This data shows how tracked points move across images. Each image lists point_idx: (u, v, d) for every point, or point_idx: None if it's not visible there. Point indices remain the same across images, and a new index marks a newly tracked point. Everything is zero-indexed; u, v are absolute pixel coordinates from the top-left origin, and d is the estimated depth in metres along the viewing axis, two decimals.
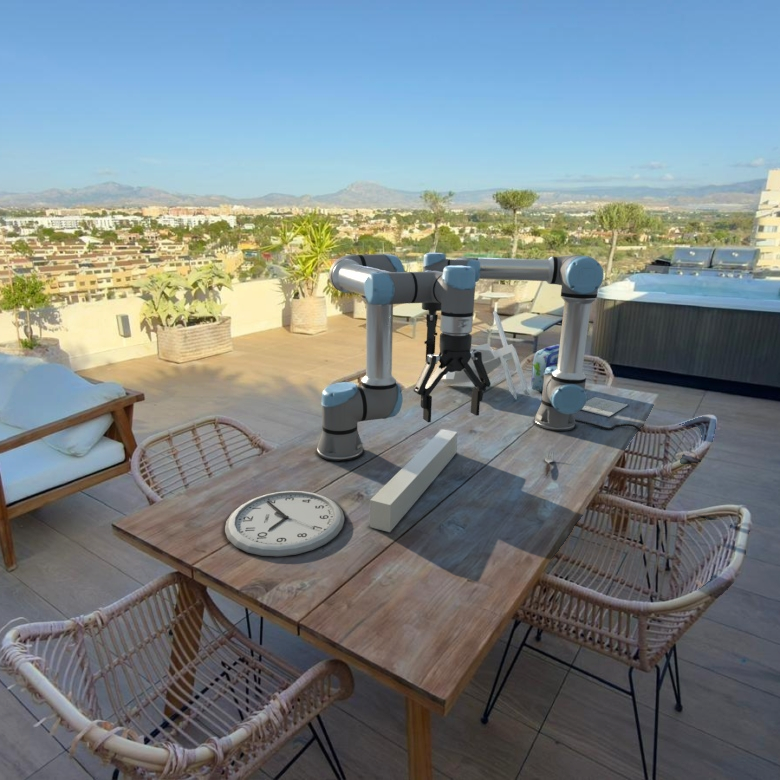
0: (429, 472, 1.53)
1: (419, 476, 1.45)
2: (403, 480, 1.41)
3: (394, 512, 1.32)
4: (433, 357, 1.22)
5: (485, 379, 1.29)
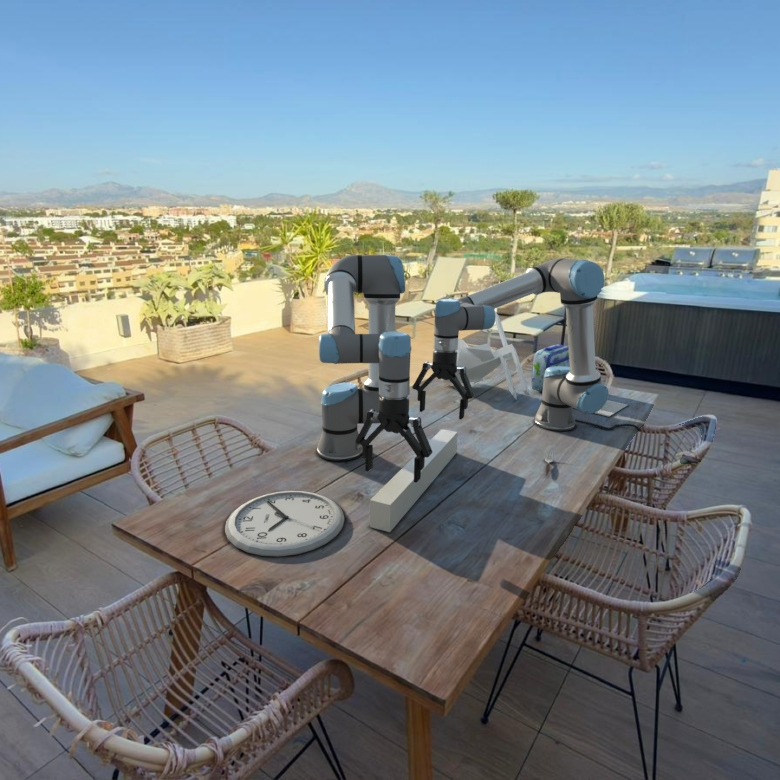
0: (429, 472, 1.53)
1: None
2: (403, 480, 1.41)
3: (394, 512, 1.32)
4: (368, 413, 1.31)
5: (423, 449, 1.27)
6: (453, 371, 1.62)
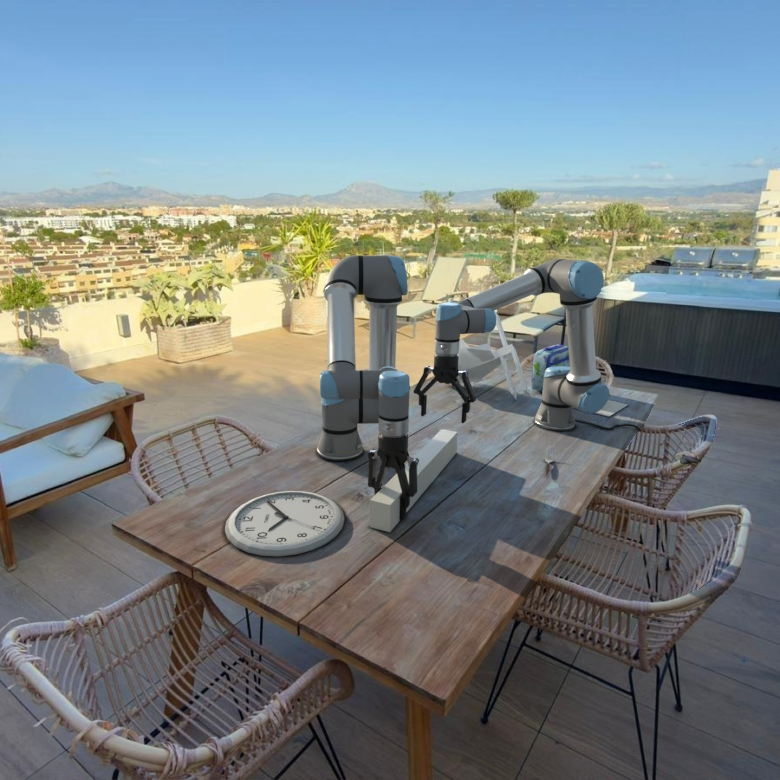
0: (429, 472, 1.53)
1: (419, 476, 1.45)
2: None
3: (394, 512, 1.32)
4: (368, 454, 1.34)
5: (410, 488, 1.32)
6: (455, 375, 1.61)
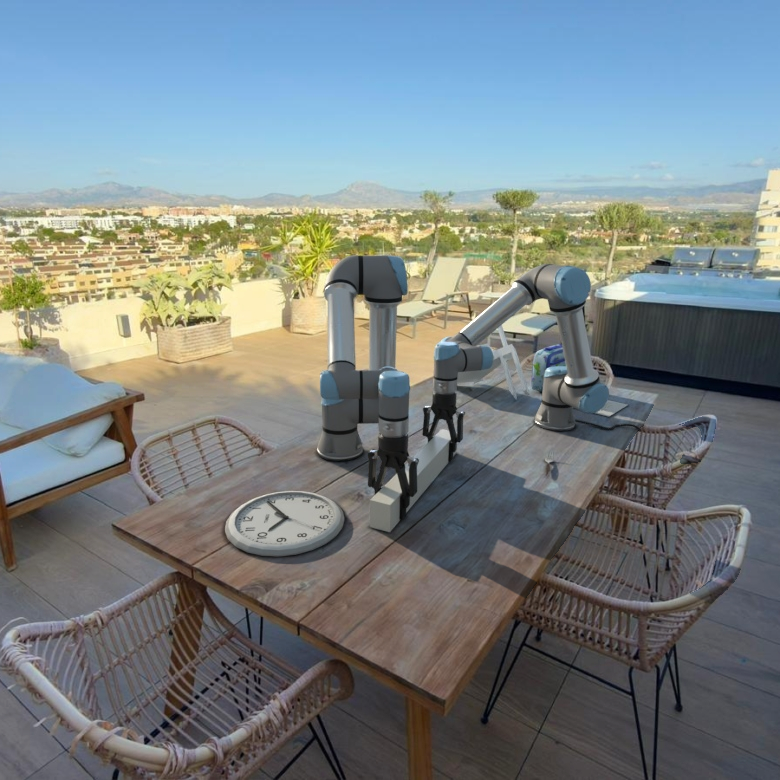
0: (429, 472, 1.53)
1: (419, 476, 1.45)
2: None
3: (394, 512, 1.32)
4: (368, 454, 1.34)
5: (410, 488, 1.32)
6: (453, 412, 1.64)
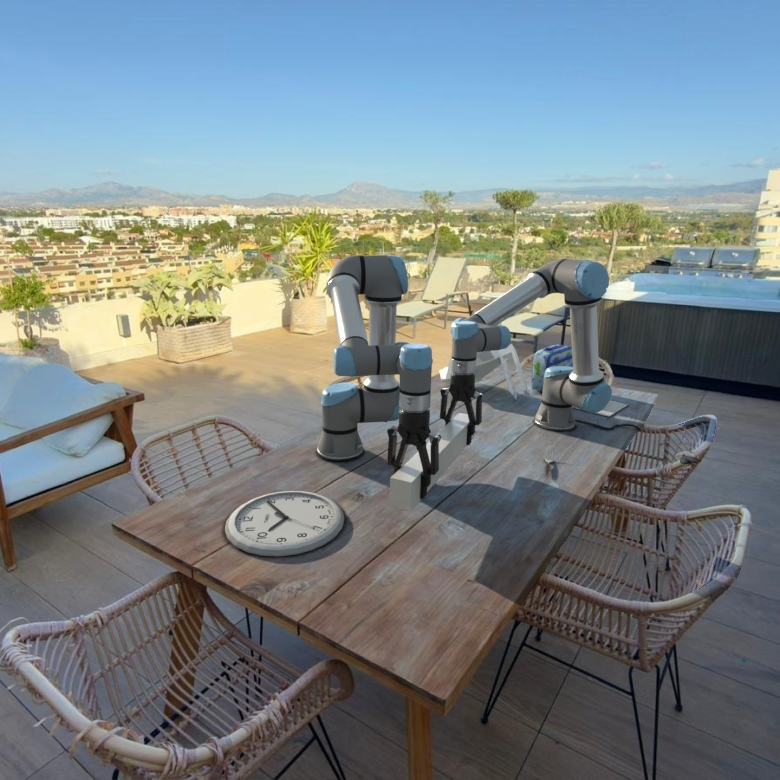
0: (449, 454, 1.49)
1: (439, 456, 1.41)
2: None
3: (415, 490, 1.27)
4: (388, 430, 1.30)
5: (431, 466, 1.27)
6: (471, 393, 1.60)
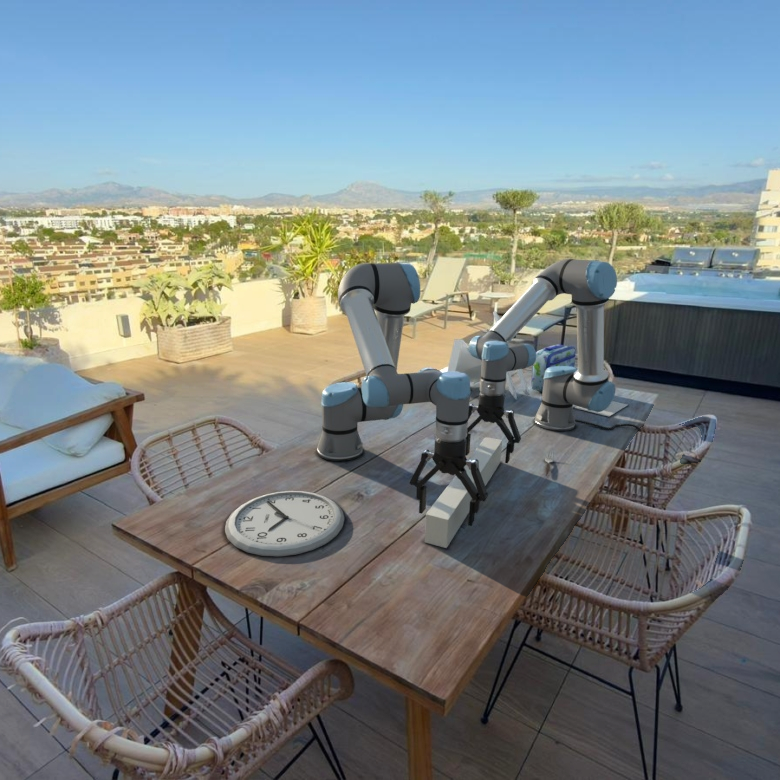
0: None
1: None
2: (456, 493, 1.35)
3: (451, 527, 1.25)
4: (422, 454, 1.27)
5: (479, 492, 1.23)
6: (501, 414, 1.58)
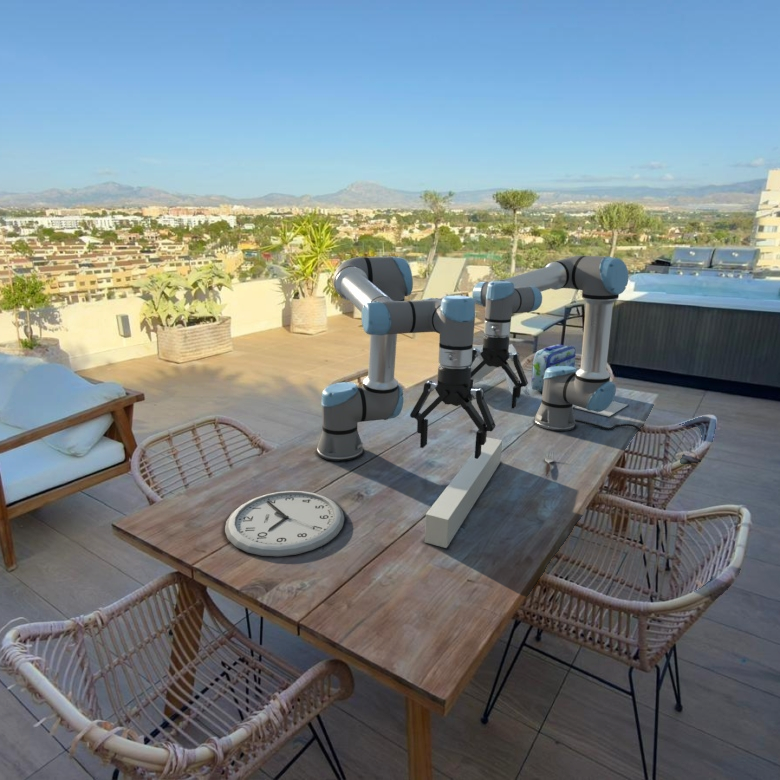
0: (479, 483, 1.47)
1: (471, 488, 1.39)
2: (456, 493, 1.35)
3: (451, 527, 1.25)
4: (425, 384, 1.22)
5: (486, 422, 1.18)
6: (505, 357, 1.52)
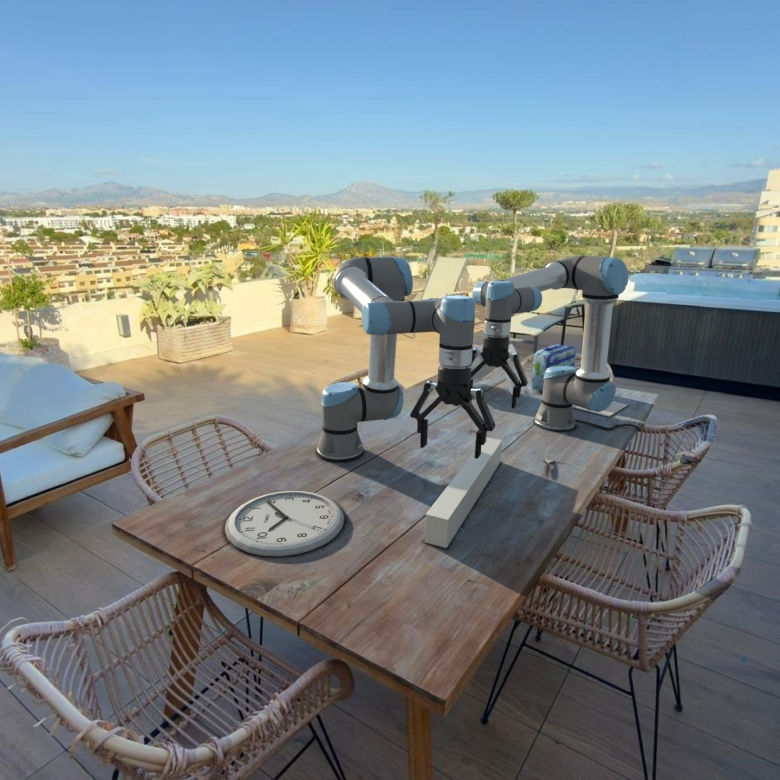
0: (479, 483, 1.47)
1: (471, 488, 1.39)
2: (456, 493, 1.35)
3: (451, 527, 1.25)
4: (425, 384, 1.22)
5: (486, 422, 1.18)
6: (505, 357, 1.52)
